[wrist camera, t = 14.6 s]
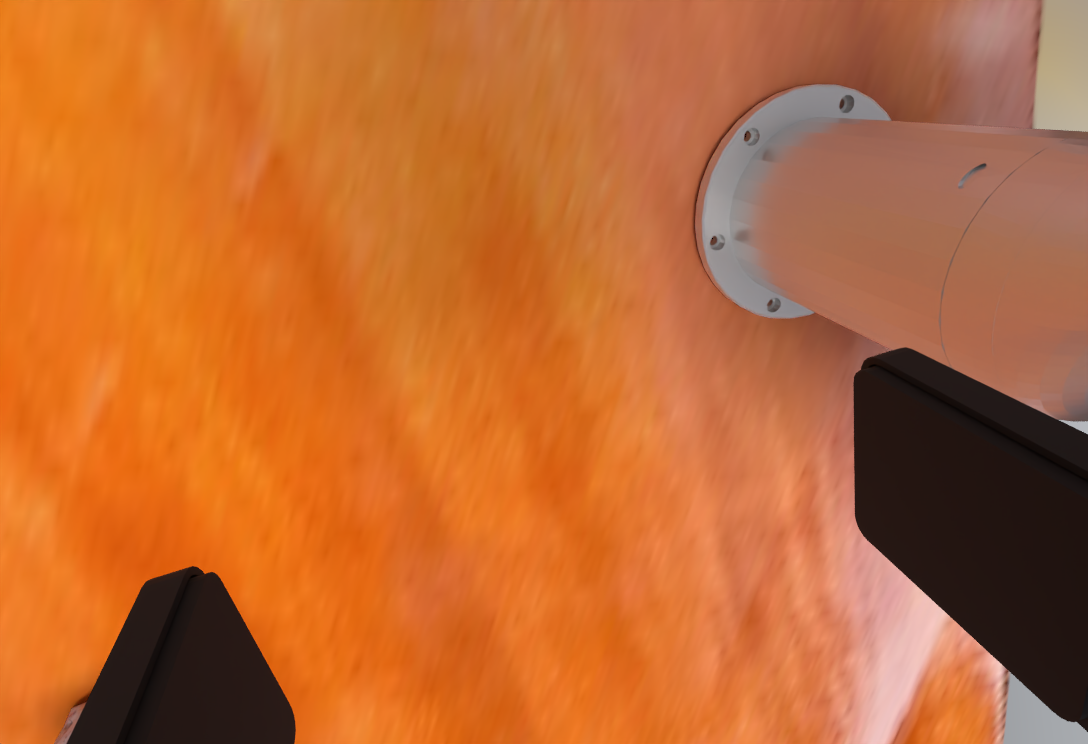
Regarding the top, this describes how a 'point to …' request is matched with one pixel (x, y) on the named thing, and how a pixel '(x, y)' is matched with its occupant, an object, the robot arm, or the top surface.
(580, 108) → the top surface
